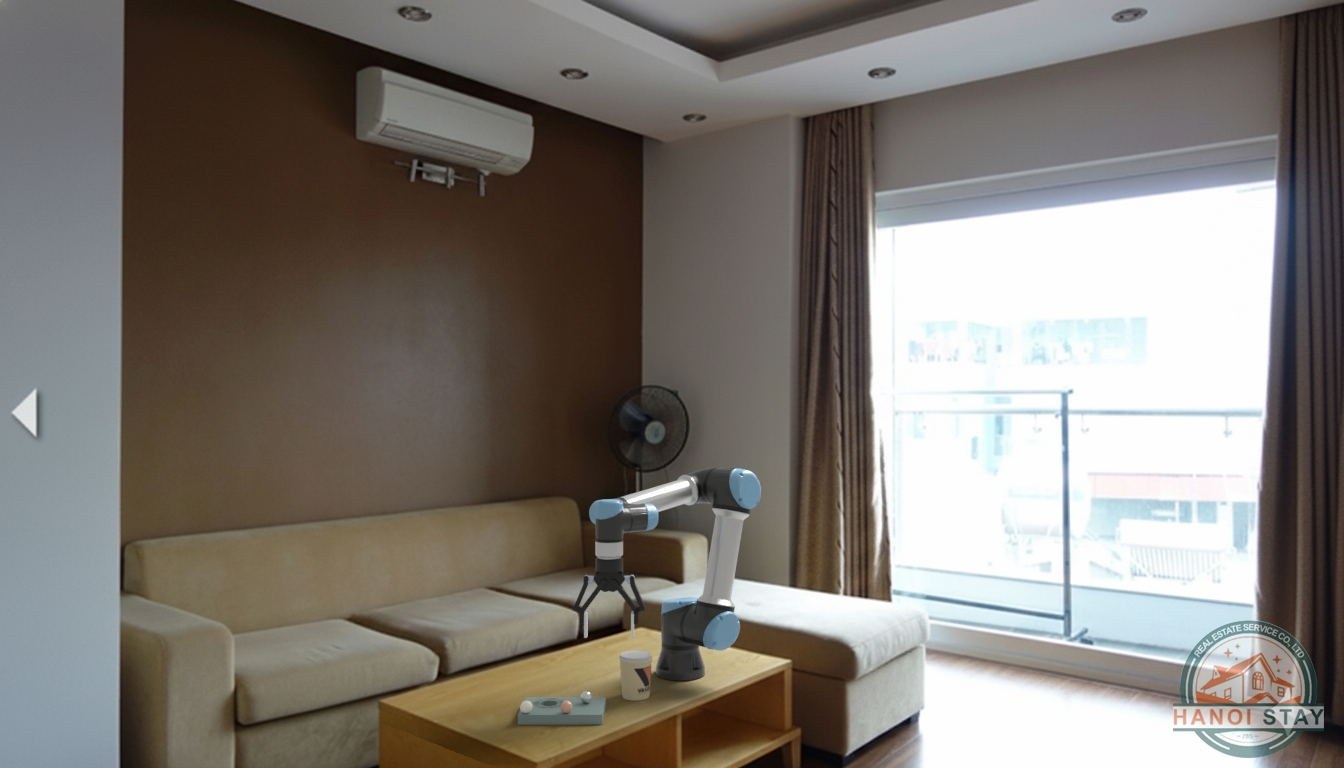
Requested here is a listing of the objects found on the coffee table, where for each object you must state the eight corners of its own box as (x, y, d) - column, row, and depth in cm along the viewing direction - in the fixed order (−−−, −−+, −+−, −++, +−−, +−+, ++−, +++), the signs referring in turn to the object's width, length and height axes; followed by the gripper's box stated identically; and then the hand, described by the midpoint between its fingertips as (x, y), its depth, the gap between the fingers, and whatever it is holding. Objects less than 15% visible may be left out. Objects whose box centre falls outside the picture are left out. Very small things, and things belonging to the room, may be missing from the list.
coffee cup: (640, 703, 266) (640, 660, 266) (613, 698, 271) (612, 655, 271) (658, 694, 274) (658, 652, 274) (631, 689, 279) (631, 648, 279)
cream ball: (533, 711, 252) (533, 698, 252) (531, 715, 249) (531, 702, 249) (521, 711, 252) (521, 698, 252) (519, 715, 249) (519, 702, 249)
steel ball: (592, 701, 260) (592, 689, 260) (591, 705, 257) (591, 693, 257) (580, 701, 260) (580, 689, 260) (579, 705, 257) (579, 693, 257)
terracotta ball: (573, 710, 252) (573, 698, 252) (571, 714, 249) (571, 702, 249) (560, 711, 252) (560, 698, 252) (559, 715, 249) (559, 702, 249)
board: (605, 705, 264) (605, 696, 264) (602, 724, 249) (602, 714, 249) (526, 706, 264) (526, 697, 264) (517, 724, 249) (517, 715, 249)
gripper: (654, 554, 263) (654, 633, 263) (566, 554, 263) (566, 633, 263) (653, 559, 256) (653, 640, 255) (563, 559, 256) (563, 640, 255)
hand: (609, 636), depth 259 cm, fingers open, 12 cm apart
